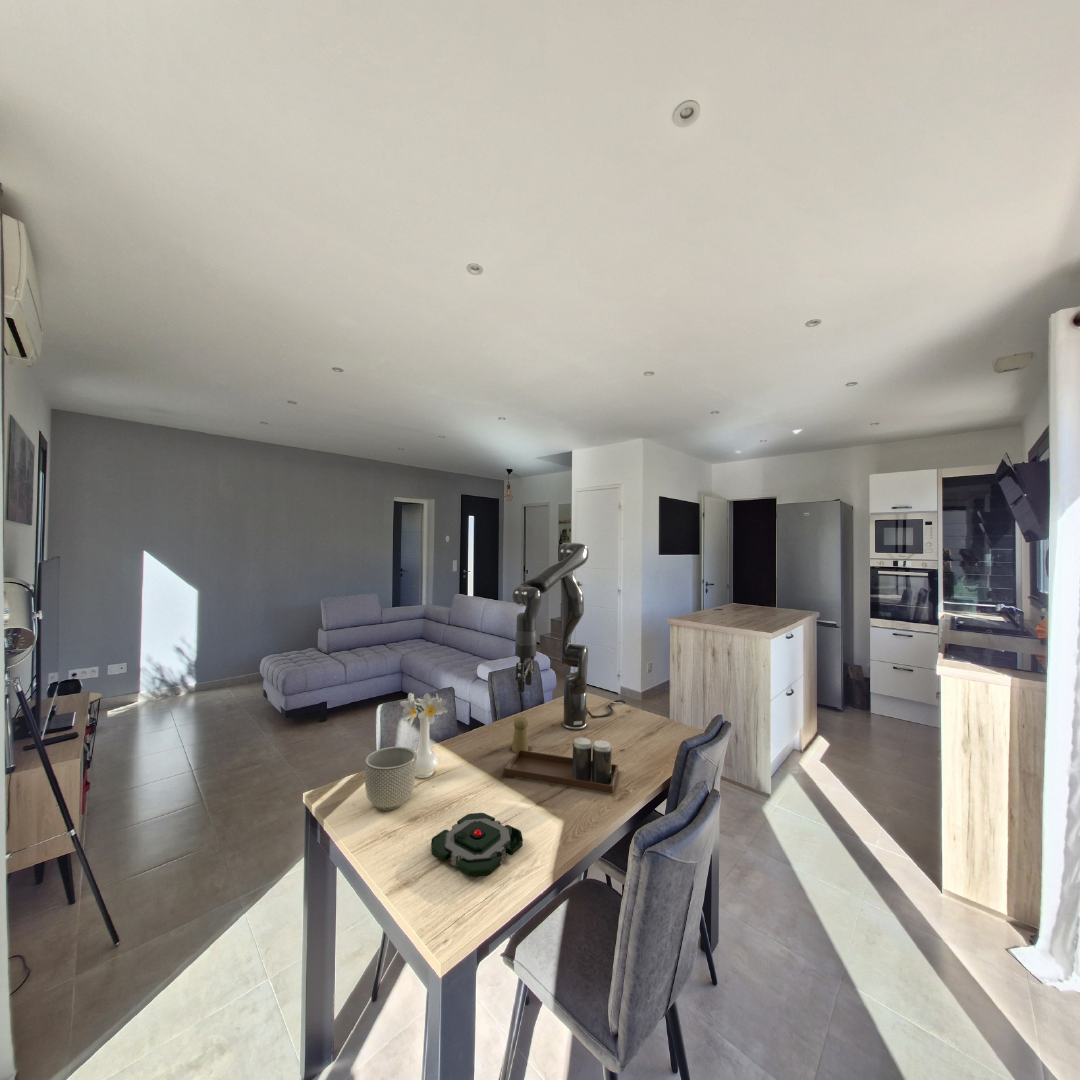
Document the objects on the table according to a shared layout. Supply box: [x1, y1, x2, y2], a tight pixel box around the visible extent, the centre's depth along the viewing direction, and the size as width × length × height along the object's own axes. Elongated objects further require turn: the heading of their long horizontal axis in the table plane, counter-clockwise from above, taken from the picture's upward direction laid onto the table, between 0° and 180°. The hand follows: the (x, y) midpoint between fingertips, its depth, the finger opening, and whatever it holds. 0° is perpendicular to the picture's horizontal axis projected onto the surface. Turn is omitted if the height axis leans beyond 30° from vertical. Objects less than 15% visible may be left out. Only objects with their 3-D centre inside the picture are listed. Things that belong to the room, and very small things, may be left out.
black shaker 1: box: [572, 737, 593, 781], centre depth 143 cm, size 6×6×11 cm
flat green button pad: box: [430, 812, 524, 878], centre depth 107 cm, size 18×18×5 cm
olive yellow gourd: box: [511, 716, 529, 753], centre depth 163 cm, size 6×6×11 cm
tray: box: [503, 750, 619, 794], centre depth 145 cm, size 14×34×2 cm, turn 74°
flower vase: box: [399, 692, 449, 779], centre depth 144 cm, size 13×18×25 cm
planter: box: [363, 746, 417, 812], centre depth 126 cm, size 14×14×13 cm
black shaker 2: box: [592, 739, 613, 784], centre depth 141 cm, size 6×6×11 cm
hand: (524, 688), depth 160 cm, fingers open, 8 cm apart
